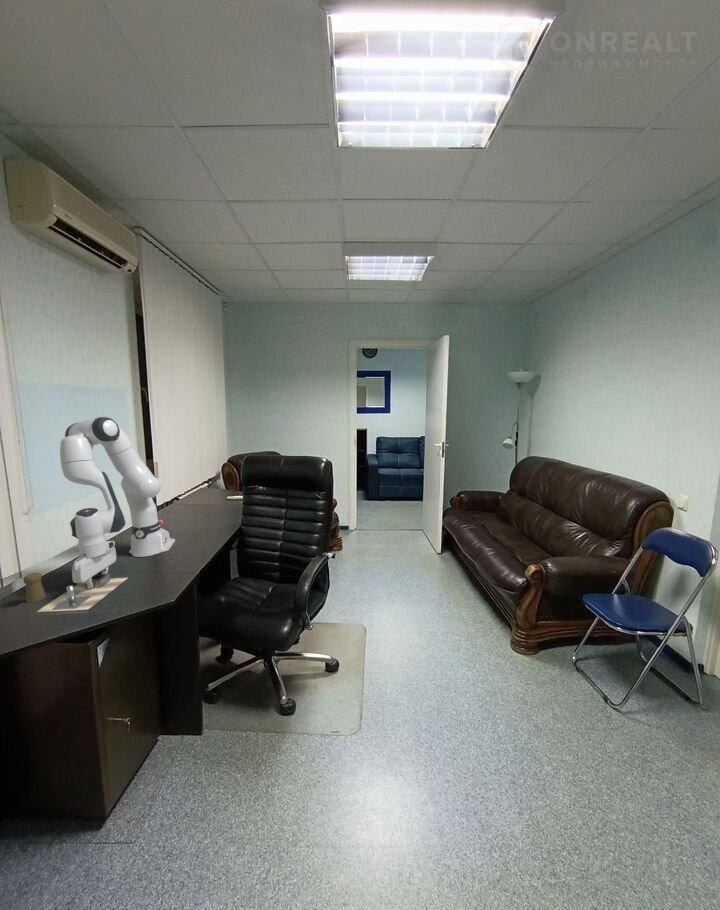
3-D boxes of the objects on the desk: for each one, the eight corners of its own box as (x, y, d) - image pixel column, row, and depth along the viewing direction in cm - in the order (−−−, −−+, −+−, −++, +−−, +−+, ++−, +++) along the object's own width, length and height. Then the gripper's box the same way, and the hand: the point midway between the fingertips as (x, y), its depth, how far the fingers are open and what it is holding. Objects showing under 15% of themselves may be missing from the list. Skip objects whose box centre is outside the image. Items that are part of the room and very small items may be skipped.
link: (95, 581, 152) (94, 574, 152) (110, 580, 152) (109, 573, 152) (85, 588, 146) (84, 581, 146) (100, 587, 146) (99, 580, 146)
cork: (25, 601, 140) (20, 574, 139) (46, 595, 145) (41, 568, 143) (26, 607, 136) (21, 579, 135) (48, 601, 140) (43, 573, 139)
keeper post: (69, 598, 139) (66, 581, 139) (91, 596, 140) (88, 580, 139) (52, 609, 132) (49, 592, 131) (75, 608, 132) (72, 591, 131)
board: (84, 582, 154) (84, 579, 154) (128, 580, 155) (128, 577, 155) (36, 615, 131) (35, 612, 130) (88, 612, 131) (88, 609, 131)
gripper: (81, 560, 137) (86, 595, 139) (117, 540, 157) (121, 571, 159) (64, 561, 137) (70, 596, 139) (102, 540, 157) (107, 571, 159)
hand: (97, 582), depth 149 cm, fingers closed on link, 6 cm apart
